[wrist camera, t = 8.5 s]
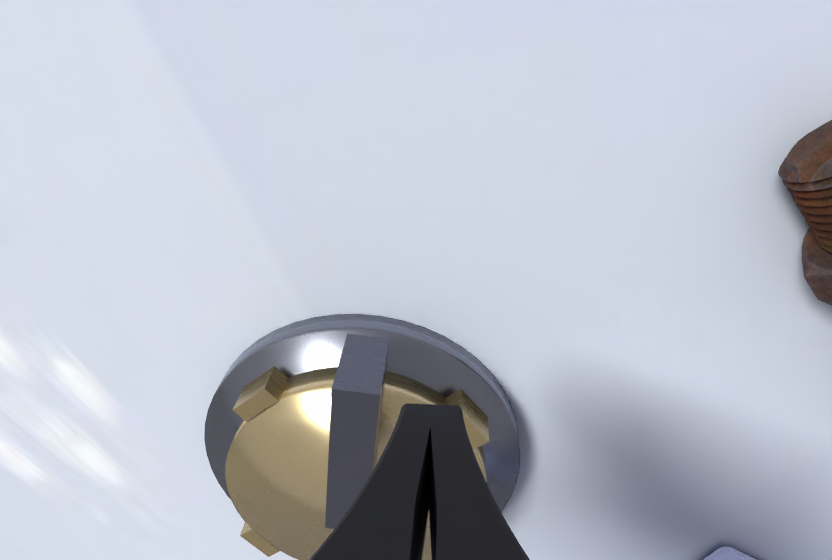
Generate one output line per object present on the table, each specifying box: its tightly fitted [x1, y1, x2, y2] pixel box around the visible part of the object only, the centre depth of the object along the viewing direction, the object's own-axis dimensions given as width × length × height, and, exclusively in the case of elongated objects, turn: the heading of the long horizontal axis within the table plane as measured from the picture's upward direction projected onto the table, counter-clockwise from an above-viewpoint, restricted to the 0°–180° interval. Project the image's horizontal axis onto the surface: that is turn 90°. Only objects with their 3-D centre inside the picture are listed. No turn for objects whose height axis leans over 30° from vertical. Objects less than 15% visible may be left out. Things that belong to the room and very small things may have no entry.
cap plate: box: [205, 314, 520, 511], centre depth 26 cm, size 14×14×1 cm
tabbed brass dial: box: [225, 334, 489, 560], centre depth 24 cm, size 12×12×4 cm
